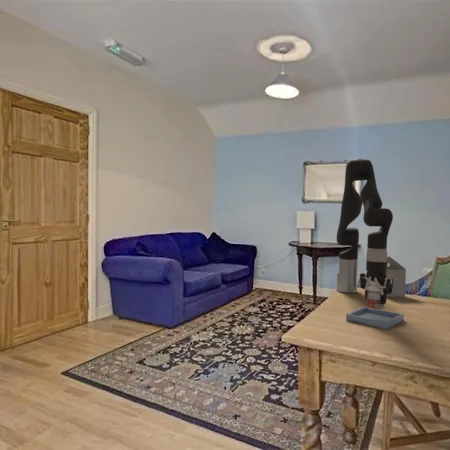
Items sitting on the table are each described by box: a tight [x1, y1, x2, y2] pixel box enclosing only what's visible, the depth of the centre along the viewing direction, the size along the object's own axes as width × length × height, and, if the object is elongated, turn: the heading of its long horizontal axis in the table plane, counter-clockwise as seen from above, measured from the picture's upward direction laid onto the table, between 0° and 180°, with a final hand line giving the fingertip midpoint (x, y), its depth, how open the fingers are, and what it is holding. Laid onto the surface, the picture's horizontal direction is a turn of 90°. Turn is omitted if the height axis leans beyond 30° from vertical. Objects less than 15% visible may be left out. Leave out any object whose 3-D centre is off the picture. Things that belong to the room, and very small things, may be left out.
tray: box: [345, 306, 405, 331], centre depth 152 cm, size 16×16×2 cm
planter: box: [385, 255, 407, 298], centre depth 194 cm, size 16×8×19 cm, turn 59°
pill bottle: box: [366, 281, 385, 311], centre depth 151 cm, size 6×6×11 cm
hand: (375, 302), depth 151 cm, fingers closed on pill bottle, 6 cm apart
